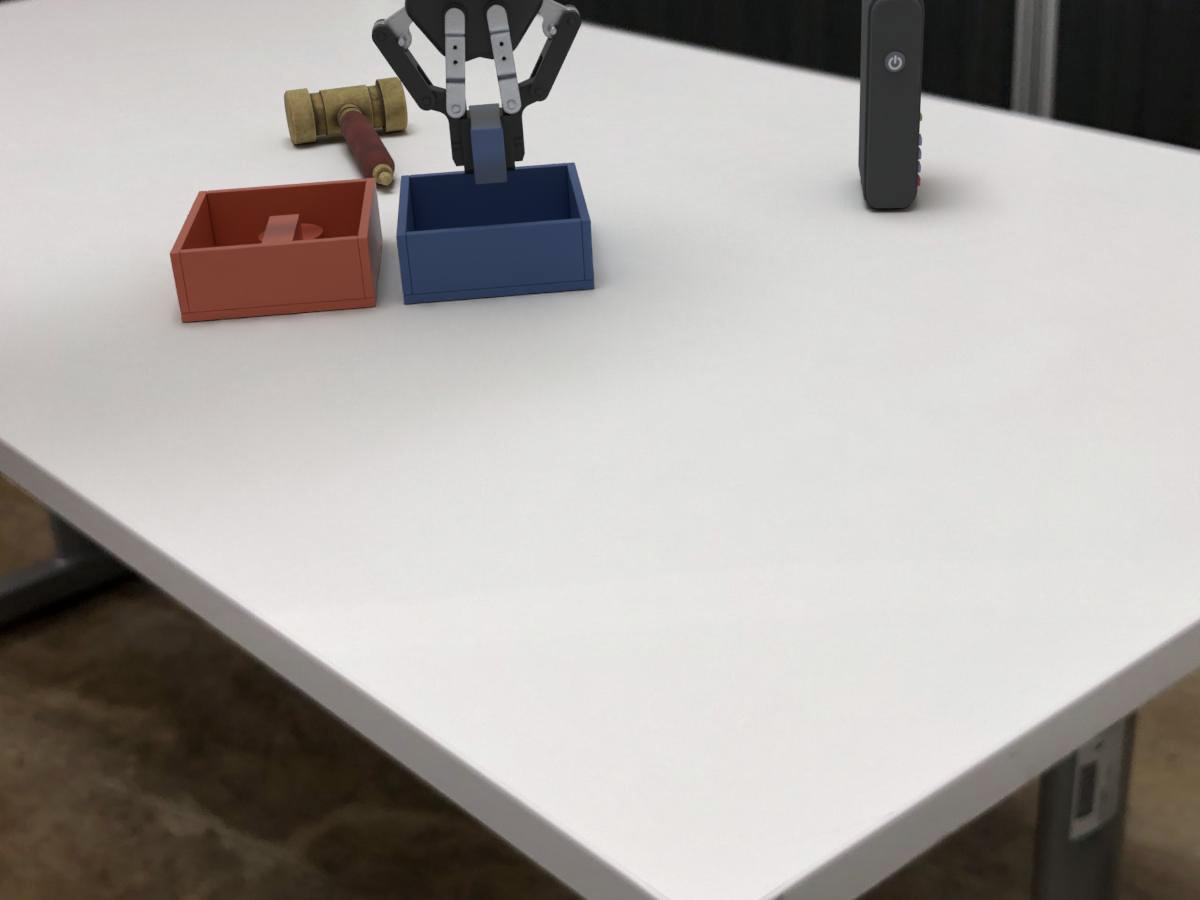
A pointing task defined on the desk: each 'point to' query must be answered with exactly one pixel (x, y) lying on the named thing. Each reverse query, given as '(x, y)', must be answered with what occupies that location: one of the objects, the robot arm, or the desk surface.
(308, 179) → the desk surface
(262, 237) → the red bar with disc
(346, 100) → the gavel
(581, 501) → the desk surface
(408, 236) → the blue bin
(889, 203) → the card reader
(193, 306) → the red bin
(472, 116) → the blue disc with bar
